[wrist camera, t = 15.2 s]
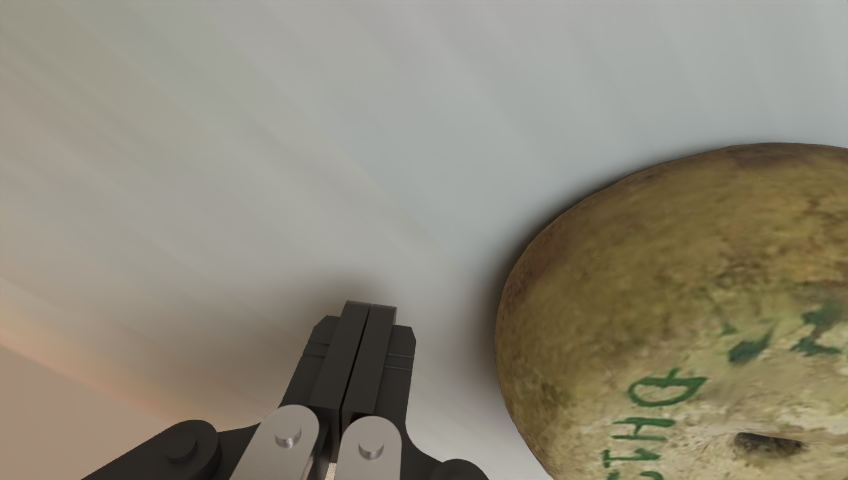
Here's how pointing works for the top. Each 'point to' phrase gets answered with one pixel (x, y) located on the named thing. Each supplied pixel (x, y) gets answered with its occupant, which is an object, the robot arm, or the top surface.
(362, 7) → the top surface
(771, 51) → the top surface
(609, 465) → the weight
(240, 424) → the top surface
